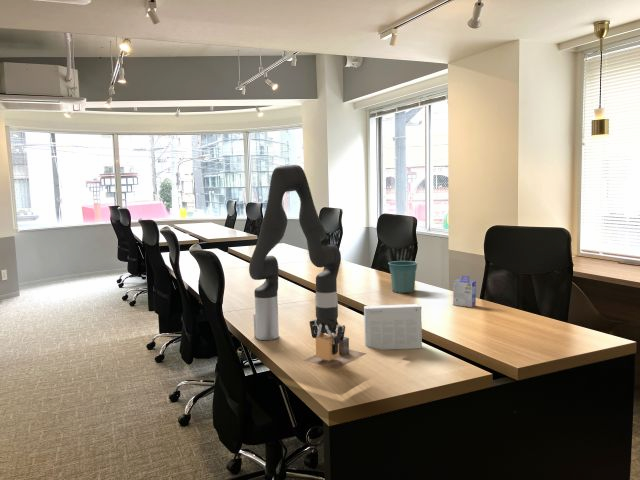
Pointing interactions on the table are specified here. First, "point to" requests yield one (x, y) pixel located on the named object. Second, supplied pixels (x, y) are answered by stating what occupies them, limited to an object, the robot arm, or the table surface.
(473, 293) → the ink cartridge box
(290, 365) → the table surface
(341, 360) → the post board
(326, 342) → the peach wooden cube
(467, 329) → the table surface
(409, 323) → the skincare box
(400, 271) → the flower pot
